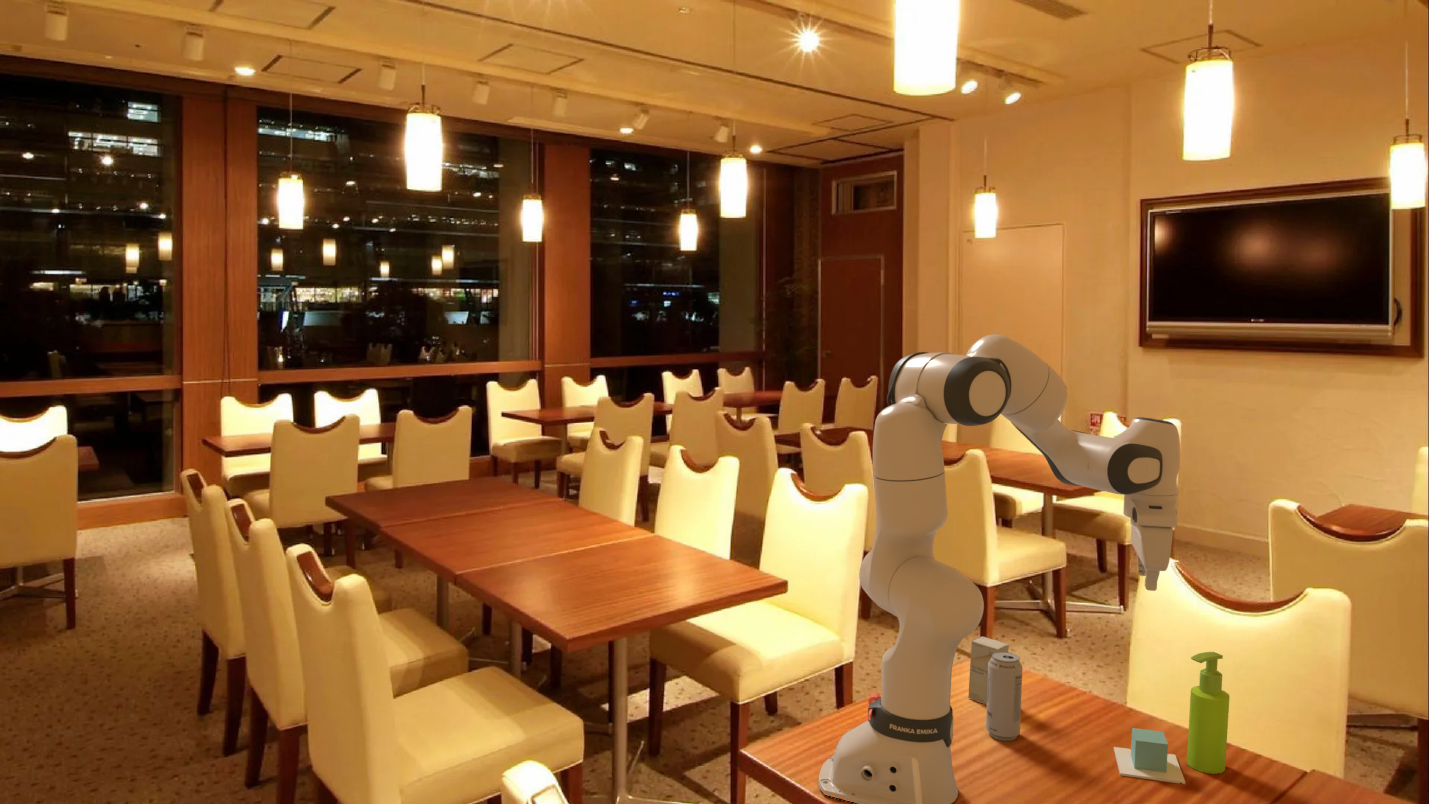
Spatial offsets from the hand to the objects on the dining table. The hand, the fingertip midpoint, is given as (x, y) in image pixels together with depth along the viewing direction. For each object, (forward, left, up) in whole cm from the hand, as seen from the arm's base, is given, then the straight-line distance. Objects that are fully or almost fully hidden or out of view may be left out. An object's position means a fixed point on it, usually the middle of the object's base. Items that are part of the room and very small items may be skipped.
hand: (1146, 582), depth 171 cm
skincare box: (-27, +8, -29) cm, 41 cm away
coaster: (0, -12, -29) cm, 31 cm away
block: (0, -12, -29) cm, 31 cm away
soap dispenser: (+9, -9, -29) cm, 32 cm away
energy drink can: (-24, -7, -29) cm, 39 cm away
